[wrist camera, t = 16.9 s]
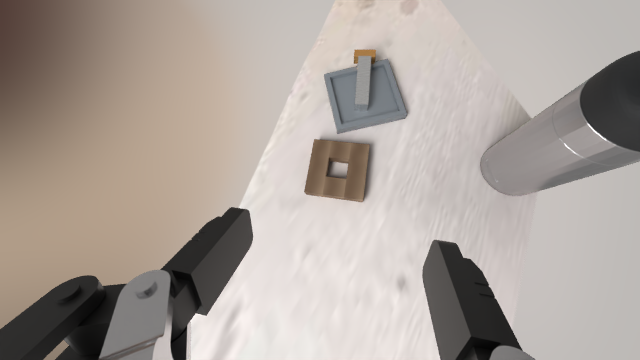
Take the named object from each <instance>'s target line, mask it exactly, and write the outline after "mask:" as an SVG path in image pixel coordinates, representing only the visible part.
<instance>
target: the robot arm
mask: <svg viewBox="0 0 640 360" xmlns="http://www.w3.org/2000/svg"><path fill="white" fill-rule="evenodd" d="M639 161H640V51H637V52H634V53H631V54H629V55H626V56H624V57H622V58H620V59H618V60H616V61H615V62H613V63H611V64H610V65H608V66H607V67H605V68H604V69H602V70H601V71H600V72H598V73H597V74H595V75H594V76H593V77H591V78H590V79H588V80H587V81H585V82H584V83H582V84H581V85H580V86H578V87H577V88H575V89H574V90H573V91H571V92H569V93H568V94H567V95H565V96H564V97H563V98H561V99H560V100H558V101H557V102H555V103H554V104H552V105H551V106H550V107H548V108H547V109H545V110H544V111H542V112H541V113H540V114H538V115H537V116H535V117H534V118H532V119H531V120H529V121H528V122H527V123H525V124H524V125H522V126H521V127H519V128H518V129H517V130H515V131H514V132H512V133H511V134H509V135H508V136H507V137H505V138H503V139H502V140H501V141H499V142H498V143H496V144H495V145H494V146H492V147H491V148H489V149H488V150H487V151H486V152H485V153H484V155H483V157H482V159H481V171H482V174H483V176H484V178H485V180H486V181H487V182H488V183H489V185H491V186H492V187H493V188H494V189H496V190H497V191H499V192H501V193H504V194H507V195H512V196H522V195H527V194H530V193H534V192H537V191H540V190H544V189H547V188H551V187H555V186H558V185H561V184H565V183H568V182H571V181H574V180H578V179H582V178H585V177H589V176H592V175H595V174H599V173H602V172H606V171H609V170H612V169H616V168H619V167H623V166H626V165H629V164H633V163H636V162H639ZM252 240H253V232H252V225H251V219H250V213H249V211H248V210H247V209H240V208H234V207H231V208H230V209H228V210H227V211H226V212H225V214H224V215H223V216H222V217H216V218H215V219H213V220H211V221H210V222H208V223H207V224H206V225H204V227H202V229H200V230H199V233H197V234H196V235H195V236H194V237H193V238H192V240H190V241H189V242H188V243H187V244H186V245H185V246H184V247H183V248H182V249H181V250H180V251H179V252H178V253H177V254H176V255H175V256H174V257H173V258H172V259H171V260H170V261H169V262H168V263H167V264H166V265H165V266H164V267H163V268H162V269H160V270H153V271H149V272H146V273H143V274H141V275H139V276H137V277H136V278H134V279H133V280H131V281H130V282H129V283H128V284H118V285H108V286H102V285H101V283H100V282H99V280H98V279H97V278H96V277H95V276H80V277H77V278H74V279H71V280H68V281H67V282H64V283H62V284H60V285H59V286H57V287H55V288H54V289H52V290H51V291H50V292H48V293H47V294H46V295H45V296H43V297H42V298H40V299H39V300H38V301H37V302H35V303H34V304H33V305H32V306H30V307H29V308H27V309H26V310H25V311H24V312H22V313H21V314H20V315H19V316H17V317H16V318H15V319H13V320H12V321H11V322H9V323H8V324H7V325H5V326H4V327H3V328H1V329H0V360H43V359H44V358H45V357H46V356H47V355H48V354H49V353H50V352H51V351H52V350H53V349H54V348H55V347H56V346H57V345H58V344H60V343H61V342H62V341H63V340H65V341H66V343H67V344H69V346H68V347H67V348H66V349H65V350H64V351H63V352H62V353H61V354H60V355H59V356H58V357H57V358H56V359H55V360H190V353H191V322H190V320H191V319H192V318H193V316H194V315H195V313H198V314H202V315H206V316H207V314H208V312H209V311H210V309H211V308H212V306H213V305H214V303H215V301H216V300H217V298H218V297H219V295H220V294H221V292H222V291H223V289H224V287H225V286H226V284H227V283H228V281H229V280H230V278H231V277H232V275H233V273H234V272H235V270H236V269H237V267H238V266H239V264H240V263H241V261H242V259H243V258H244V256H245V255H246V253H247V252H248V250H249V248H250V247H251V244H252ZM423 283H424V288H425V292H426V297H427V301H428V306H429V310H430V314H431V319H432V323H433V328H434V332H435V337H436V341H437V346H438V350H439V355H440V359H441V360H535V359H534V358H532V357H531V356H530V355H528V354H527V353H525V352H523V350H522V349H521V347H520V345H519V343H518V341H517V339H516V337H515V335H514V333H513V331H512V329H511V327H510V325H509V323H508V321H507V319H506V317H505V316H504V314H503V312H502V310H501V308H500V306H499V304H498V302H497V300H496V299H495V298H494V297H495V296H494V294H493V292H492V290H491V288H490V287H489V284H488V282H487V280H486V278H485V276H484V274H483V272H482V271H481V270H480V269H479V268H478V267H477V266H476V265H475V263H474V262H473V261H472V260H471V259H467V258H463V256H462V254H461V252H460V249H459V247H458V245H457V244H456V243H452V242H446V241H440V240H434V241H433V242H432V244H431V247H430V250H429V252H428V255H427V258H426V260H425V263H424V266H423Z"/></svg>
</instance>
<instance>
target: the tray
mask: <svg viewBox="0 0 640 360" xmlns="http://www.w3.org/2000/svg"><path fill="white" fill-rule="evenodd" d="M357 67H358V66H356V67H352V68H348V69H344V70H340V71H336V72H332V73H327V74H324V78H325V83H326V87H327V91H328V96H329V100H330V104H331V108H332V113H333V117H334V121H335V125H336V130H337V134H339V133H343V132H348V131H352V130H357V129H361V128H365V127H370V126H374V125H379V124H383V123H387V122H392V121H396V120H401V119H405V118H406V115H407V112H406V109H405V107H404V104H403V101H402V98H401V95H400V92H399V90H398V87H397V84H396V81H395V78H394V75H393V73H392V70H391V67H390V64H389V61H388V59H385V60H381V61H376V62H374V64H371V69H370V85H369V101H368V108H367V111H354V108H355V95H356V81H357Z"/></svg>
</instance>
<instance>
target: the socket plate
mask: <svg viewBox="0 0 640 360" xmlns="http://www.w3.org/2000/svg"><path fill="white" fill-rule="evenodd" d="M368 154H369V144H358V143H348V142H338V141H327V140H317V139H314V143H313V148H312V154H311V159H310V164H309V170H308V175H307V180H306V186H305V191H304V192H305V193H306V194H307V195H314V196H321V197H329V198H336V199H343V200H350V201H358V202H363V197H364V188H365V180H366V171H367V162H368ZM330 161H331V162H340V163H348V171H347V178H346V179H342V178H334V177H327V175H328V168H329V162H330Z"/></svg>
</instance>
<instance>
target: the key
mask: <svg viewBox="0 0 640 360" xmlns="http://www.w3.org/2000/svg"><path fill="white" fill-rule="evenodd" d="M375 55H376V50H355V53H354V63H358V67H357V81H356V95H355V108H354V111H367V108H368V101H369V85H370V69H371V64H374V62H375Z"/></svg>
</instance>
